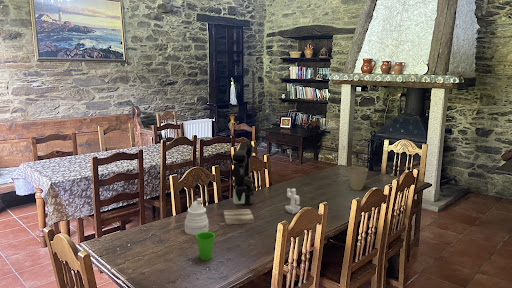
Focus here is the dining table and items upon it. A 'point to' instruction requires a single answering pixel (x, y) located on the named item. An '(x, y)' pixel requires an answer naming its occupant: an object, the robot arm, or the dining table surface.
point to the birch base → (238, 216)
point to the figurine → (293, 201)
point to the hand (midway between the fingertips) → (238, 199)
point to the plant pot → (357, 177)
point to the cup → (205, 244)
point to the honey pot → (196, 219)
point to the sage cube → (237, 198)
